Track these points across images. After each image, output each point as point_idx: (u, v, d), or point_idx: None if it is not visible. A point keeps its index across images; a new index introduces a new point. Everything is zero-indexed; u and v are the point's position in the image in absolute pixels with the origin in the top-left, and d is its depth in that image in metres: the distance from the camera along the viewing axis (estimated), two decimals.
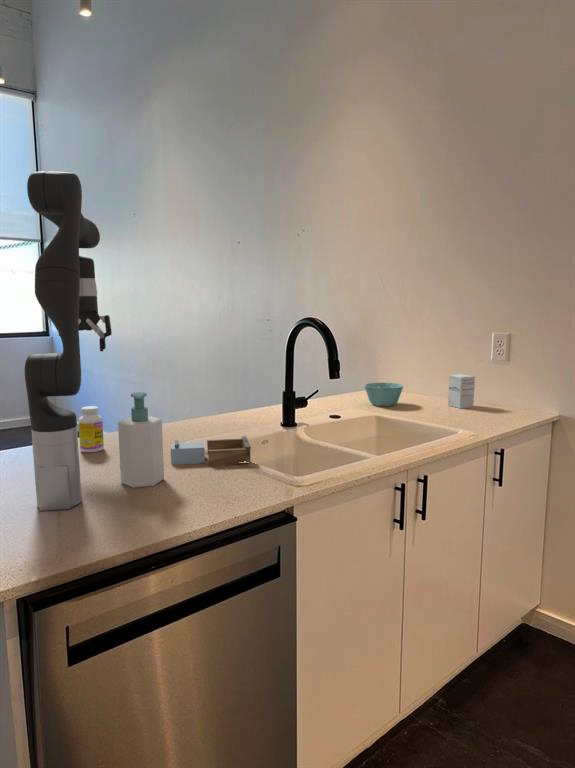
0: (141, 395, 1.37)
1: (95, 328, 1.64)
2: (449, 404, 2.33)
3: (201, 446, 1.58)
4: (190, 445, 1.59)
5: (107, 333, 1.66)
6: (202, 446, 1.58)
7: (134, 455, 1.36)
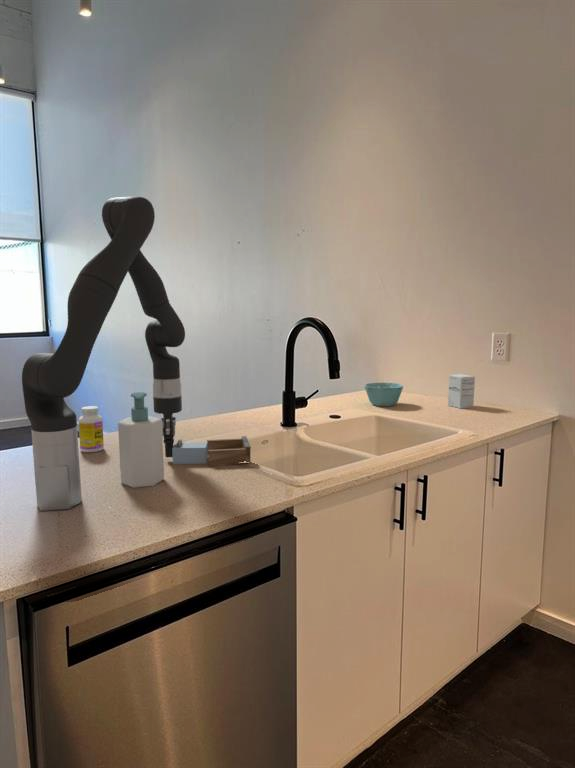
0: (141, 395, 1.37)
1: None
2: (449, 404, 2.33)
3: (203, 446, 1.57)
4: (192, 445, 1.59)
5: (173, 435, 1.60)
6: (204, 446, 1.57)
7: (134, 455, 1.36)
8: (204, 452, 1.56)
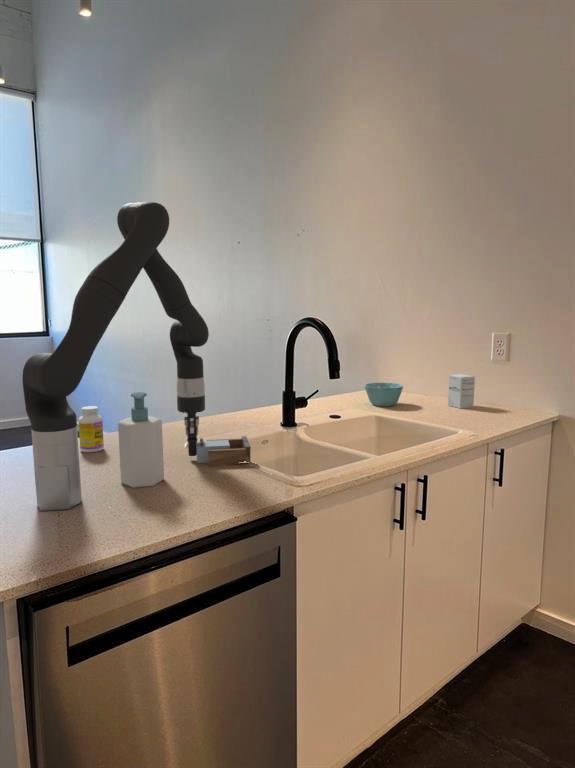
0: (141, 395, 1.37)
1: None
2: (449, 404, 2.33)
3: (226, 444, 1.59)
4: (215, 443, 1.60)
5: None
6: (227, 444, 1.59)
7: (134, 455, 1.36)
8: None
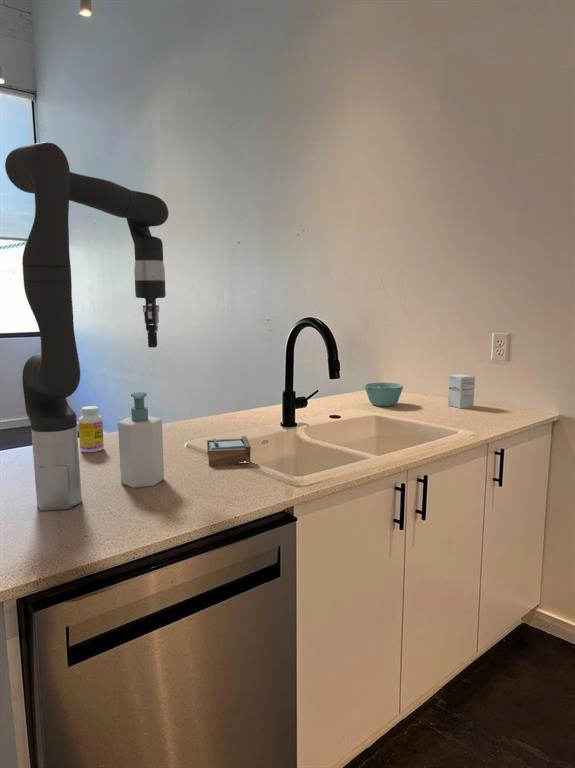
0: (141, 395, 1.37)
1: (158, 318, 1.49)
2: (449, 404, 2.33)
3: (240, 444, 1.59)
4: (229, 443, 1.60)
5: (157, 326, 1.51)
6: (241, 444, 1.59)
7: (134, 455, 1.36)
8: None
